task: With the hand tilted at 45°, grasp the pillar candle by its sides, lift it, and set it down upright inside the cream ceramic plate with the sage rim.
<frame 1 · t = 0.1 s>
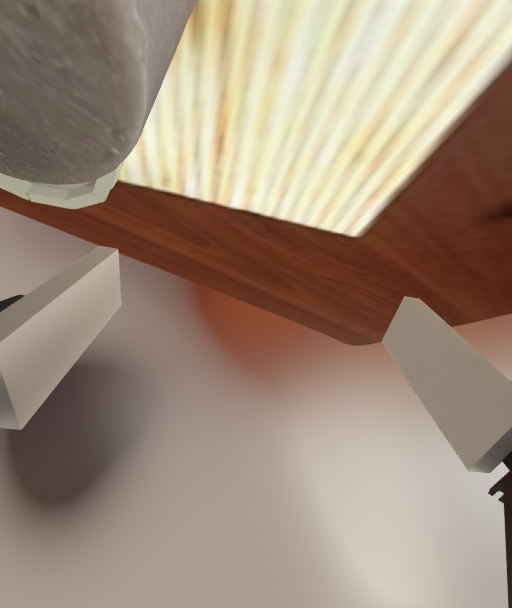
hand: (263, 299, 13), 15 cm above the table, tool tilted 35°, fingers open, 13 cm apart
candle plate: (14, 114, 22), on the table
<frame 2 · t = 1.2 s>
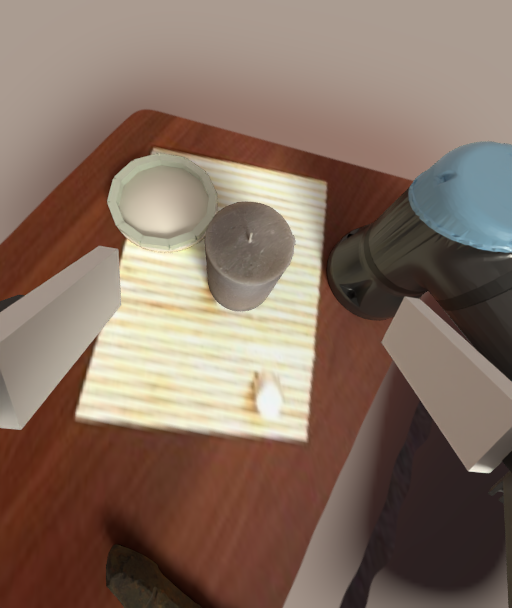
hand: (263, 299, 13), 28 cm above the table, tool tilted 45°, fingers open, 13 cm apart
pillar candle: (240, 282, 43), on the table
dark brown bark log: (174, 601, 32), on the table
candle plate: (166, 205, 44), on the table
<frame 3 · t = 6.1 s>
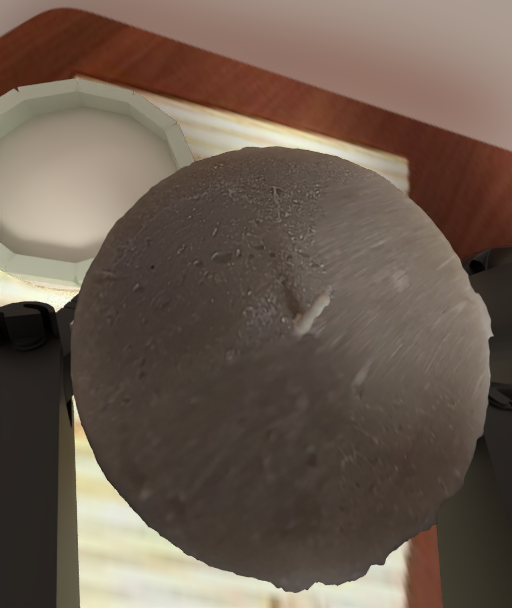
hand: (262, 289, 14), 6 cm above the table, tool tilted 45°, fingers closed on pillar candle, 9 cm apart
pillar candle: (242, 360, 19), on the table, touching gripper
candle plate: (89, 189, 21), on the table
when the fingers open (9 cm above the table, at t = 11.9 s): pillar candle drops 2 cm, resting on candle plate.
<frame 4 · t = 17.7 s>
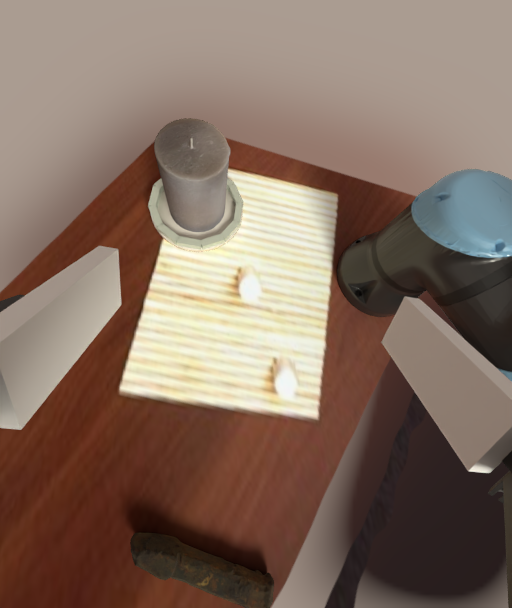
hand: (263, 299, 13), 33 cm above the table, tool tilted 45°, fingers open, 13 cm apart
pillar candle: (198, 209, 49), point 1 cm above the table, touching candle plate
dark brown bark log: (200, 562, 37), on the table
candle plate: (197, 210, 50), on the table
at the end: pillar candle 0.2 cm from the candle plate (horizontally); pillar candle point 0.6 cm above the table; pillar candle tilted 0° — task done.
